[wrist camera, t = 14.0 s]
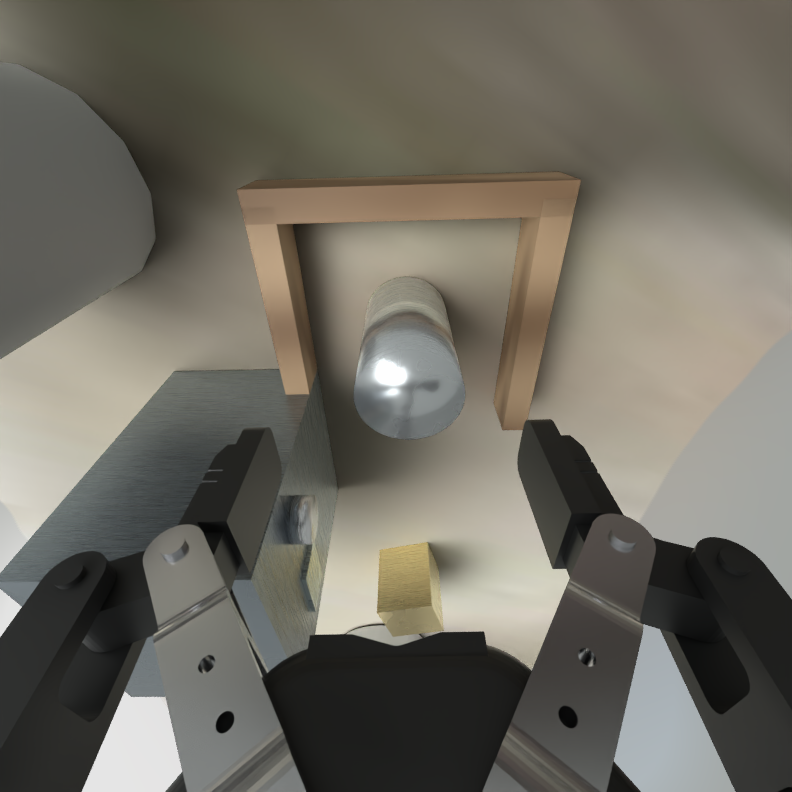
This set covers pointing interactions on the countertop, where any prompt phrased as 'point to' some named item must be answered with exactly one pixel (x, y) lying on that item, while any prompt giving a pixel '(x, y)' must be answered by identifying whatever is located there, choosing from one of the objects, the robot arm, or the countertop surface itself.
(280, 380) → the block
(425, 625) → the brass block
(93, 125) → the cup
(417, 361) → the grey cartridge
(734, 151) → the countertop surface
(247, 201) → the frame
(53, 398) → the countertop surface
